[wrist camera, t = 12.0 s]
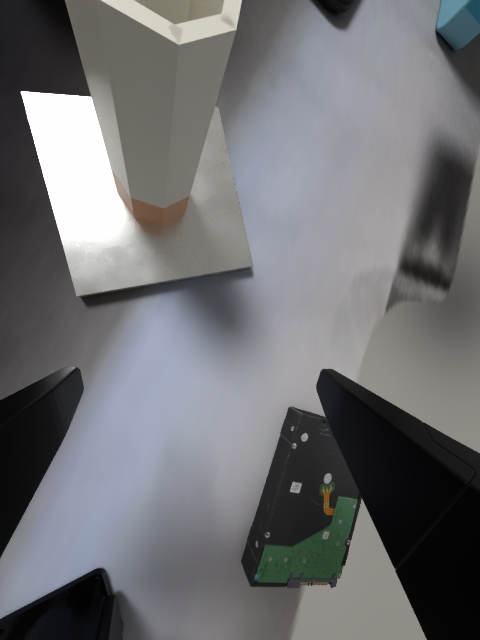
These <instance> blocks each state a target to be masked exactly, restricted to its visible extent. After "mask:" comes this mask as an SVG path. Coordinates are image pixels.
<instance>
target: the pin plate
mask: <svg viewBox="0 0 480 640" xmlns="http://www.w3.org/2000/svg"><path fill="white" fill-rule="evenodd" d="M21 93H22V97H23V100H24V104H25V108H26V111H27V115H28V119H29V122H30V126H31V130H32V133H33V137H34V141H35V144H36V148H37V152H38V156H39V159H40V163H41V167H42V170H43V174H44V178H45V181H46V185H47V189H48V192H49V196H50V200H51V203H52V207H53V211H54V214H55V218H56V222H57V226H58V229H59V233H60V237H61V240H62V244H63V248H64V251H65V255H66V259H67V262H68V266H69V270H70V273H71V277H72V281H73V284H74V288H75V292H76V295H77V297H80V298H82V297H88V296H94V295H99V294H105V293H111V292H117V291H122V290H128V289H134V288H139V287H145V286H151V285H157V284H162V283H168V282H174V281H180V280H185V279H191V278H197V277H203V276H208V275H214V274H220V273H226V272H231V271H237V270H243V269H249V268H251V267H252V266H253V262H252V258H251V253H250V249H249V244H248V240H247V235H246V230H245V226H244V221H243V217H242V212H241V208H240V203H239V199H238V194H237V190H236V185H235V181H234V176H233V172H232V167H231V163H230V158H229V154H228V149H227V145H226V140H225V136H224V131H223V127H222V122H221V118H220V113H219V108H218V107H215V108H214V112H213V115H212V119H211V122H210V126H209V129H208V133H207V136H206V140H205V143H204V147H203V150H202V154H201V157H200V161H199V165H198V168H197V172H196V175H195V179H194V182H193V186H192V189H191V193H190V196H189V200H188V203H187V207H186V211H185V214H184V215H183V216H181V217H179V218H177V219H175V220H173V221H171V222H169V223H167V224H165V225H163V226H161V225H158V224H154V223H151V222H148V221H145V220H141V219H138V218H134V216H133V215H132V213H131V212H130V210H129V209H128V207H127V206H126V204H125V203H124V201H123V200H122V198H121V197H120V195H119V194H118V193H117V189H116V186H115V182H114V178H113V175H112V171H111V167H110V164H109V160H108V156H107V153H106V149H105V145H104V142H103V138H102V134H101V131H100V127H99V123H98V120H97V116H96V112H95V109H94V105H93V101H92V98H91V97H82V96H69V95H57V94H44V93H31V92H21Z"/></svg>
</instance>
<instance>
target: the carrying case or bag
mask: <svg viewBox="0 0 480 640" xmlns="http://www.w3.org/2000/svg"><path fill="white" fill-rule="evenodd" d="M319 1H320V2H321V4H322V5H323V6H324V7H325V8H326V9H327V10H328V11H329V12H331V13H333V14H336V13H339V12H343V11H345V10H347V9H348V8H349V7H350V6H351V4H352V3H353V1H354V0H319Z"/></svg>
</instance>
